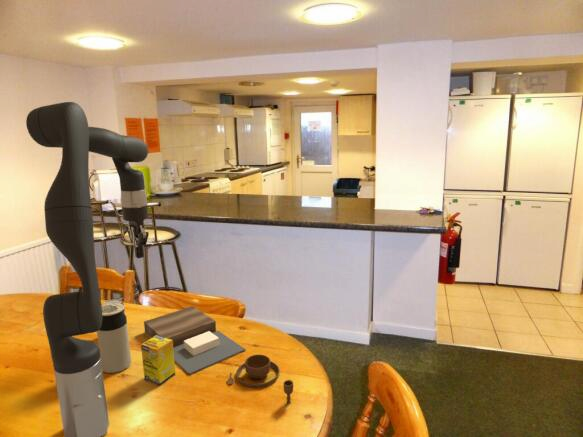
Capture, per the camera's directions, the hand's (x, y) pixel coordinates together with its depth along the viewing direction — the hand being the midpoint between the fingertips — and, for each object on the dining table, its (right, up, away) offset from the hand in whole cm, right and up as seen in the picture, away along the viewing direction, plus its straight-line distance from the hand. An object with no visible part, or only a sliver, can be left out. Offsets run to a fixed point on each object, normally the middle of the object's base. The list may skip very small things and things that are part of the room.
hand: (139, 257), depth 131 cm
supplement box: (+12, -32, -18) cm, 38 cm away
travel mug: (-2, -31, -12) cm, 33 cm away
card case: (+20, -25, -4) cm, 33 cm away
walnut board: (+11, -26, +7) cm, 29 cm away
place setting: (+40, -33, -21) cm, 56 cm away
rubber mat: (+22, -28, -5) cm, 36 cm away
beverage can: (-10, -27, +5) cm, 29 cm away
